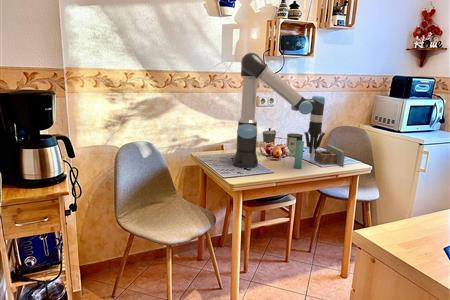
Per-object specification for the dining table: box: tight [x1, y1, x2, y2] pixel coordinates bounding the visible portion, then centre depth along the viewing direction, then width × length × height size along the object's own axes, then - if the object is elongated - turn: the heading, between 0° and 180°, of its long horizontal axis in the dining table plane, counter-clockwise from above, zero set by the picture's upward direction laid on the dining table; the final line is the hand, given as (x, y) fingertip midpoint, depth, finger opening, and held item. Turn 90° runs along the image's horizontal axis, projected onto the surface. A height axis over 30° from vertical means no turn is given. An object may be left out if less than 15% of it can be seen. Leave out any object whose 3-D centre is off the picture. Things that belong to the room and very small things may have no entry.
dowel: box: [293, 140, 305, 170], centre depth 195 cm, size 4×4×16 cm
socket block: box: [313, 150, 337, 165], centre depth 211 cm, size 10×10×6 cm
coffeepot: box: [262, 127, 277, 143], centre depth 224 cm, size 15×9×18 cm, turn 144°
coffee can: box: [286, 133, 304, 158], centre depth 224 cm, size 10×10×14 cm
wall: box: [325, 144, 346, 167], centre depth 212 cm, size 2×20×9 cm, turn 10°
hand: (311, 158), depth 210 cm, fingers closed
